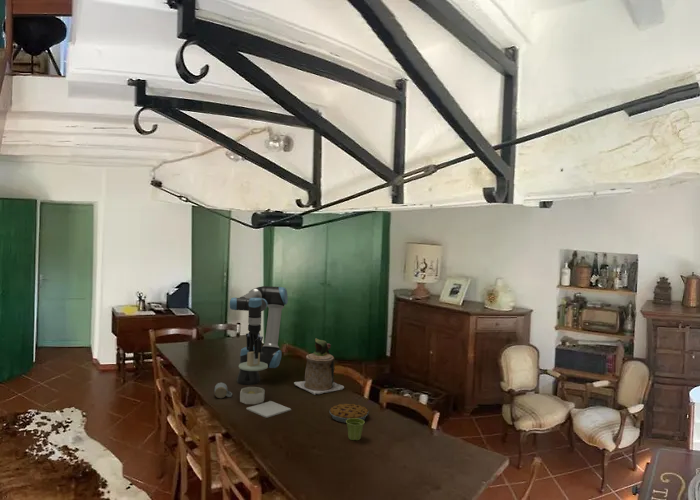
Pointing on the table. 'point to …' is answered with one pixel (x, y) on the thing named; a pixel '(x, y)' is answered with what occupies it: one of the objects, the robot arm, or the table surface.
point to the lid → (249, 364)
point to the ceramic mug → (222, 391)
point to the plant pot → (354, 428)
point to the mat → (268, 409)
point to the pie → (348, 412)
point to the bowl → (252, 395)
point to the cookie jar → (319, 371)
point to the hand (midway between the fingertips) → (253, 363)
